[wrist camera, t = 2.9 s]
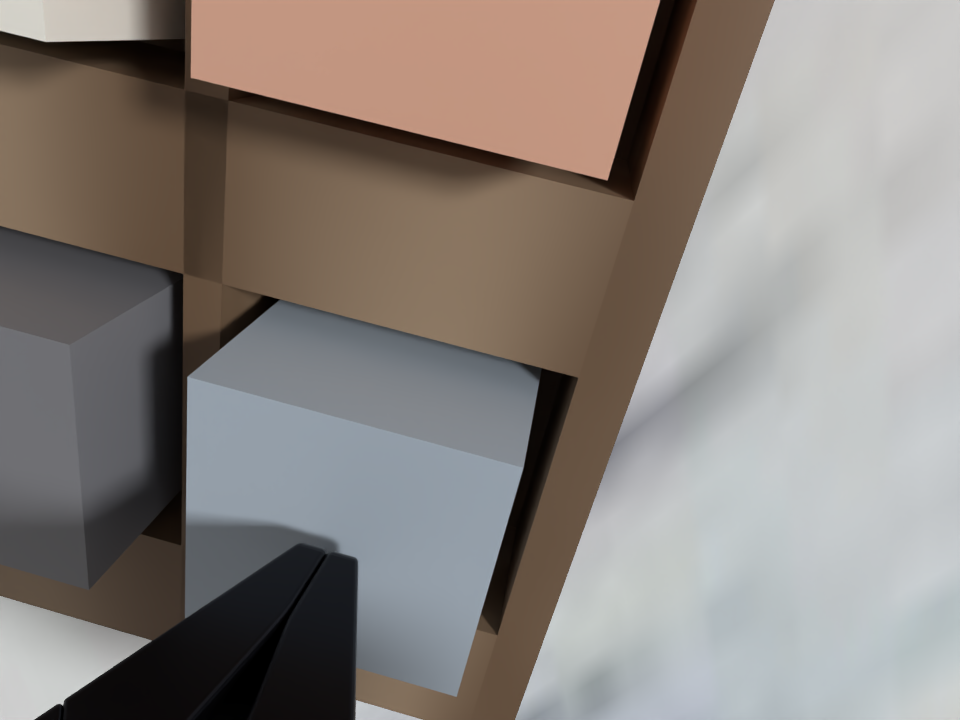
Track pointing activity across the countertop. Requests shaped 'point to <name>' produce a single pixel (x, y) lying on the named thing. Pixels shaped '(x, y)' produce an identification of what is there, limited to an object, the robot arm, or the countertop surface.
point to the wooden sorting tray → (380, 271)
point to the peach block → (443, 67)
